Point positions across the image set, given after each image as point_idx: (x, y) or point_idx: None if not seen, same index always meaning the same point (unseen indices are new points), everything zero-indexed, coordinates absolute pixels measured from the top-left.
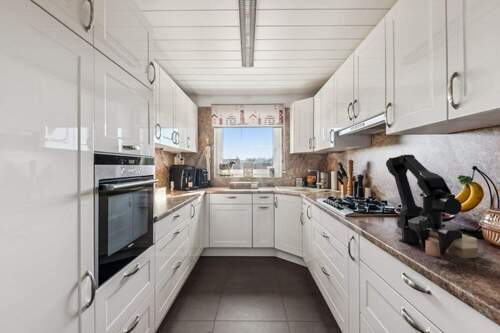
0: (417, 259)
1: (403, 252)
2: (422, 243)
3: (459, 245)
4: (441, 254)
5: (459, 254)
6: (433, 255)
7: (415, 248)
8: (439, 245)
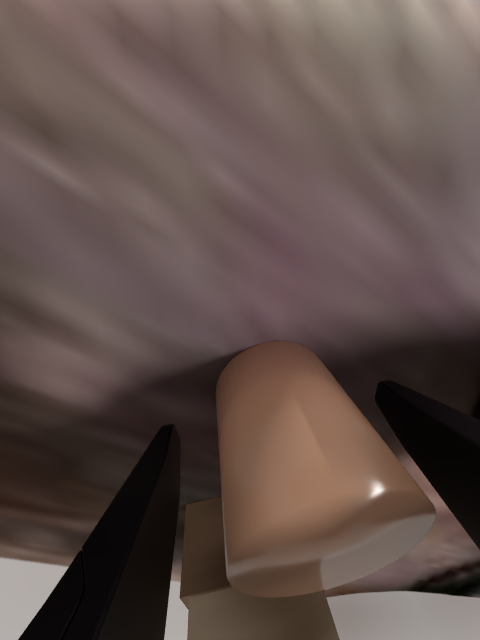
0: (68, 86)
1: (388, 68)
2: (426, 410)
3: (219, 621)
4: (159, 432)
5: (211, 518)
6: (223, 374)
7: (433, 329)
8: (116, 560)
